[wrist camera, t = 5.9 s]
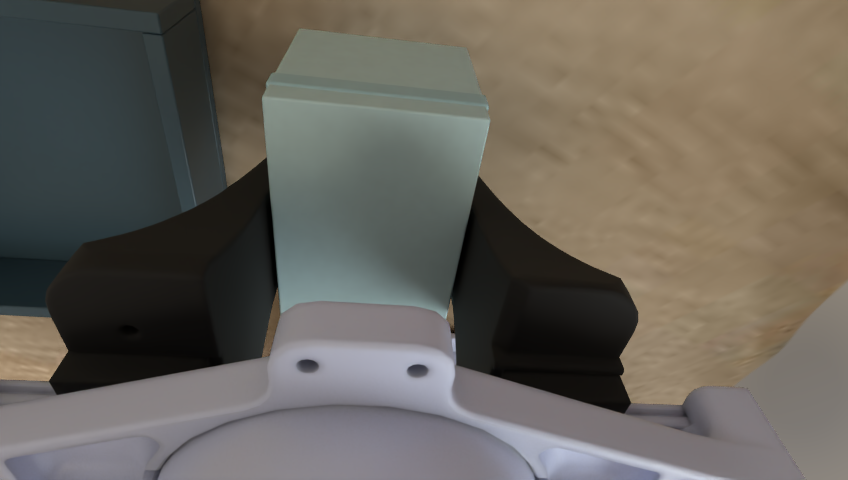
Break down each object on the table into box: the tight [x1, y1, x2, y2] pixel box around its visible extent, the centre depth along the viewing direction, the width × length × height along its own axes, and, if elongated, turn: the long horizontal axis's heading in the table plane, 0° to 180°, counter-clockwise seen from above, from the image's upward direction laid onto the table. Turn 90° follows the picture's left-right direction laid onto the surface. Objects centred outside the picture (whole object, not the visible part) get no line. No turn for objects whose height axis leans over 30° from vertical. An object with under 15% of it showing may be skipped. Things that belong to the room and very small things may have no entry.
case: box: [262, 28, 490, 320], centre depth 14 cm, size 8×5×4 cm, turn 173°
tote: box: [0, 0, 227, 317], centre depth 19 cm, size 13×13×4 cm
